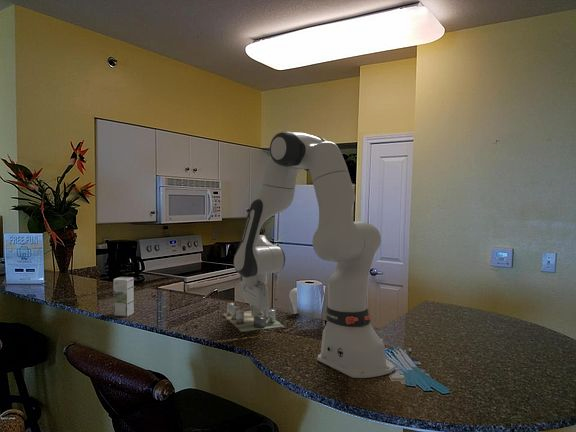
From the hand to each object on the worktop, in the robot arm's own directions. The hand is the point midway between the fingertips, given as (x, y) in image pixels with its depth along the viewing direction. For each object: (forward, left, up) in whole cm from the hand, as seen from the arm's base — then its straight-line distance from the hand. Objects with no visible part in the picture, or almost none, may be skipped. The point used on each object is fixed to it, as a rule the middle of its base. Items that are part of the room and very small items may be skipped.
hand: (254, 316), depth 150 cm
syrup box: (+31, +43, -3) cm, 53 cm away
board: (+3, 0, -3) cm, 4 cm away
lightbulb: (+4, -19, -3) cm, 19 cm away
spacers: (+4, 0, -2) cm, 5 cm away
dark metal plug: (-6, 0, -2) cm, 6 cm away
